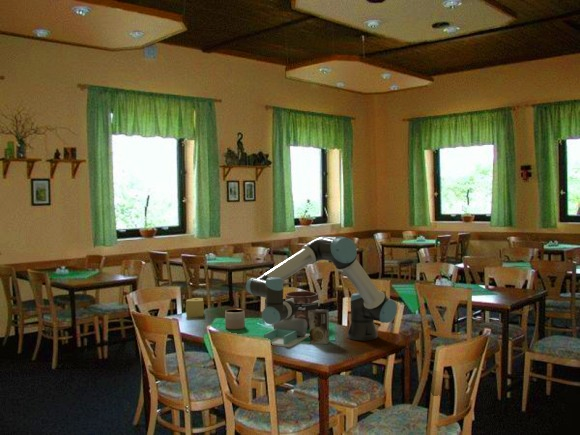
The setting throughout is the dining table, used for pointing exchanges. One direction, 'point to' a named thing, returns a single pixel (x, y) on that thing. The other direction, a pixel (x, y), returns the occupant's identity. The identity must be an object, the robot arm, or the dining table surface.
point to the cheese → (194, 307)
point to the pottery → (302, 298)
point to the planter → (234, 319)
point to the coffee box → (319, 326)
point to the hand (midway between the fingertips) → (305, 301)
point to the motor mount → (288, 332)
